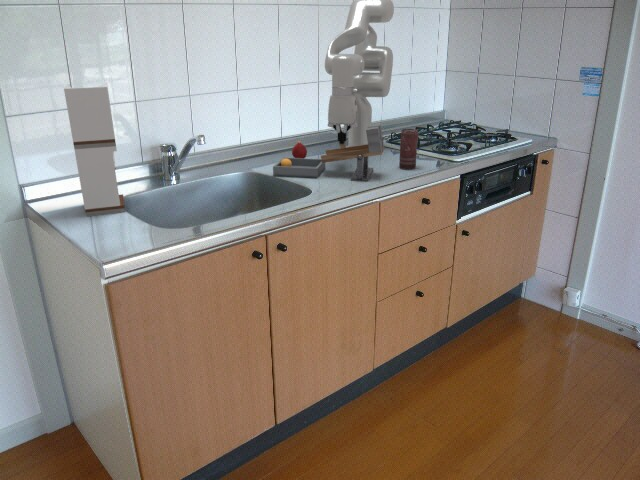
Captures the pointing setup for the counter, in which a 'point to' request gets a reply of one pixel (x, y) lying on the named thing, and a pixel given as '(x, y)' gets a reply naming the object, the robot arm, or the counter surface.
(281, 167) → the tray
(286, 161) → the ball
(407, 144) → the can
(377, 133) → the chute
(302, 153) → the onion
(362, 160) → the chute stand
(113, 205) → the grey pillar
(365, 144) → the robot arm
